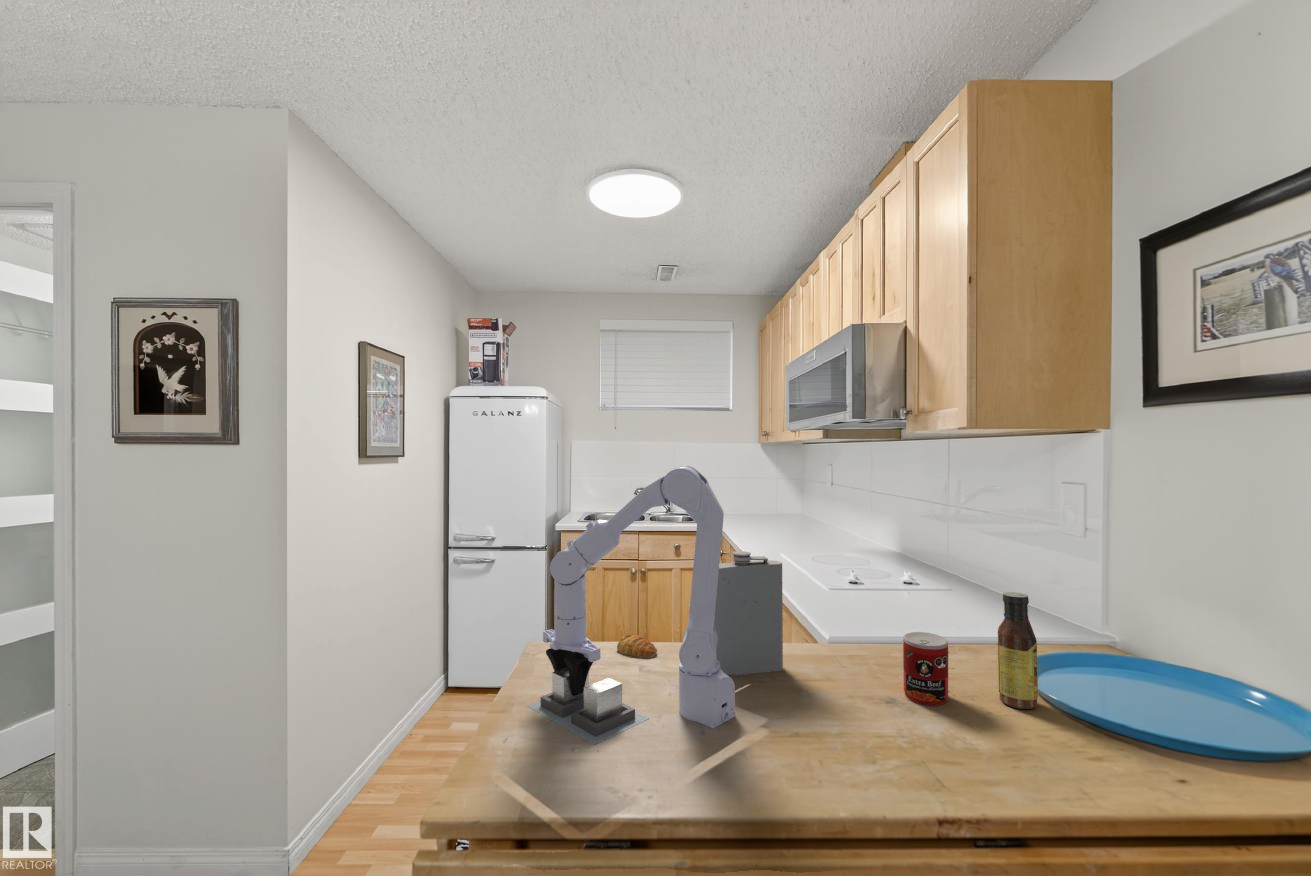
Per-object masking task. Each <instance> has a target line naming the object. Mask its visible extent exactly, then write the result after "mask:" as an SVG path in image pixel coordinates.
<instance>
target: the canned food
mask: <svg viewBox="0 0 1311 876" xmlns="http://www.w3.org/2000/svg"><path fill="white" fill-rule="evenodd" d="M902 647H903V648H902V649H903V650H902V653H903V654H902V657H903V661H902V662H903V663H902V664H903V691H904V695H905V697H907V699H908V700H910V701H911V702H915V703H917V704H920V705H925V706H940V705H943V704H946V702H947V701H948V698H949V642H948V639H947V638H945V637H943V636H941V635H939V634H935V633H931V632H924V631H921V632H920V631H913V632H908V633H906V634H904V635H903V643H902Z"/></svg>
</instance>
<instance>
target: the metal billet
mask: <svg viewBox="0 0 1311 876" xmlns="http://www.w3.org/2000/svg"><path fill="white" fill-rule="evenodd" d="M589 672H590V671H589ZM589 672H588V675H587V679H586V683H585V687H586V686H588V685H590V683H589V681H590V680H589V679H590V678H589V675H590V674H589ZM551 674H552V675H551V676H552V678H551V679H552V680H551V682H552V683H551V686H552V687H551V693H552V700H554V701H555V702H557V703H559V704H561V705H563V706H564V705H567V704H569V703H572V702H574V701H577V700H579V699H582V698H584V691H583V693H581V694H579V695H576V696H573V695H572V692H571V686H570V676H569V671H568V668H567V667H566V668H563V669H561V670H558V671H555V672H554V671H552V673H551Z"/></svg>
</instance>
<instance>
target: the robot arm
mask: <svg viewBox="0 0 1311 876" xmlns="http://www.w3.org/2000/svg"><path fill="white" fill-rule="evenodd" d="M669 503H671V504H672V505H674V506H676V507H678V508H680V509H682V510H684V511H685V512H686V514H688V515H689V516H690V518H691V519H692V520H693V521H694V522H695V524H696V532H695V544H694V555H693V556H694V557H693V566H692V578H691V579H692V580H691V590H690V599H689V600H690V601H689V609H688V610H689V611H688V612H689V614H688V619H687V620H688V621H687V627H686V628H685V630H684V633H683V640H682V644H681V645H680V648H679V651H678V658H679V663H678V690H679V691H678V705H679V706H678V709H679V710H678V711H679V714H680V716H681V717H683V718H684V719H686V720H687V721H688V720H689V721H693V722H696V723H700V724H702V725H705V726H707V727H709V728H711V729H715V728H717V727H719V726H720V725H722V724H724V723H725V722H728V721H729V720H731V719H733V718H735V717H736V685H735V682H734V680H733V679H732V677H731V676H730V675H726V674H725V673H724V672H723V671H722V670H721V668H720V662H719V661H718V660H717V654H716V650H717V644H718V635H717V632H716V630H715V626H714V621H715V608H716V596H717V585H718V574H719V564H721V562H720V561H721V550H722V549H721V548H722V538H723V530H724V529H723V528H724V519H725V518H724V517H725V515H724V513H725V512H724V509H723V508H722V506H721V504H720V502H719V500H718V498H717V496H716V494H715V493H714V491H713V489H712V487H711V486H710V484H709V481H708V479H707V478H706V477H705V476H704V475H703V474H702V473H701V472H699V470H697V469H696V468H695V467H693V466H690V465H680V466H677V467H675V468H673V469H671V470H670V471H669V472H667V473H666V474H665V475H663V476H662V477H660V478H659V479H657V480H655V481H653V482H652V483H650V484H648V485H646V486H645V487H644V488H643V489H641V490H640V491H639V492H638V493H637V494H636V495H635V496H634V497H633V498H632V499H631V500H630V501H628V502H627V503H626V504H625V505H624V506H623V507H622V508H621V509H619V511H617V512H616V513H614V515H613V516H612V517H611V518H609V519H597V520H596V521H595V522H594V521H593V520H592V521H590V522H588V524H586V525H585V528H586V530H584V531H583V532H582V533H581V534H580V535H579V536H578V537H576V538H575V539H574V540H573V539H571V540H569V541H568V542H566V545H567V547H566V548H565V549H563V550H560V551H557V553H556V554H555V556H554V557H553V558H552V560H551V561H550V564H549V571H550V575H551V577H552V578H553V579H554V592H553V596H554V597H553V600H554V601H553V603H554V604H553V605H554V606H553V609H554V610H553V612H554V613H553V615H554V617H553V619H554V621H553V622H554V626H553V627H554V629H547V630H543V632H542V642H543V643H549V648H548V649H546V651H545V655H546V656H547V658H548V660H549V661H550V663H551V666H552V668H553V672H555V671H558V670H561V669H563V668H566V667H567V668H568V671H569V676H570V686H571V692H572V695H573V696H576V695H579V694H581V693H583V691H584V687H585V683H586V679H587V675H588V672H590V670H591V667H592V666H593V664H594V662H597V661H599V660H601V647H598V646H596V644H594V643H593V642H592V641H591V640H590V639H589V638H588V637H587V589H586V588H587V587H586V586H587V585H586V580H587V579H586V573H587V572H588V571H589V570H590V567H594V566H595V565H596V564H597V563H598V562H600V560H602V559H603V558H605V556H606V555H608V554H609V553H611V552H612V550H614V549H615V548H616V547H617V546H619V544H620V535H621V533H622V532H623V531H624V530H626V529H628V527H630V526H631V525H632V524H633V523H634V522H635V521H638V519H640V518H641V517H642V516H643V515H644V514H645V513H647V512H648V511H650V509H652V508H656V507H663V506H664V507H665V506H667V504H669Z"/></svg>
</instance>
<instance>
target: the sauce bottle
mask: <svg viewBox="0 0 1311 876" xmlns="http://www.w3.org/2000/svg"><path fill="white" fill-rule="evenodd" d="M1002 601H1003V605H1004V606H1003V607H1004V609H1003V610H1004V613H1003V616H1004V618H1003V620H1002V622H1001V623H1000V624H999V626H998V628H997V645H996V646H997V649H996V650H997V681H998V682H997V683H998V684H997V685H998V686H997V687H998V688H997V689H998V693H999V699H1000V701H1001V703H1003V704H1004V705H1007V706H1008V707H1011V708H1015V709H1021V710H1032V709H1035V708H1036V707H1037V706H1038V698H1039V684H1038V683H1039V682H1038V681H1039V679H1038V678H1039V676H1038V642H1037V638H1036V634H1035V632H1034V629H1033V627H1032V624H1031V622H1030V619H1029V610H1028V609H1029V607H1028V606H1029V603H1030V602H1029V595H1028V594H1025V593H1021V592H1014V591H1006V592H1003V593H1002Z"/></svg>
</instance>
